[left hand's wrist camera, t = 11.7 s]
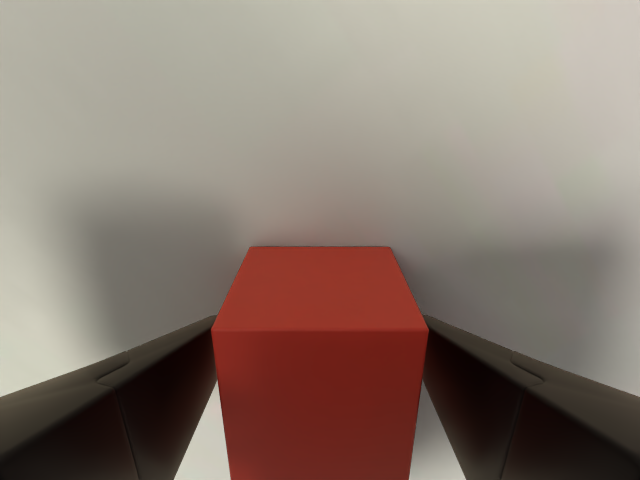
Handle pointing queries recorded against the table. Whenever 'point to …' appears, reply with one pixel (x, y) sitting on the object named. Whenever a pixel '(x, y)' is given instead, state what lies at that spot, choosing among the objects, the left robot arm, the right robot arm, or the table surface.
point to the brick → (319, 365)
